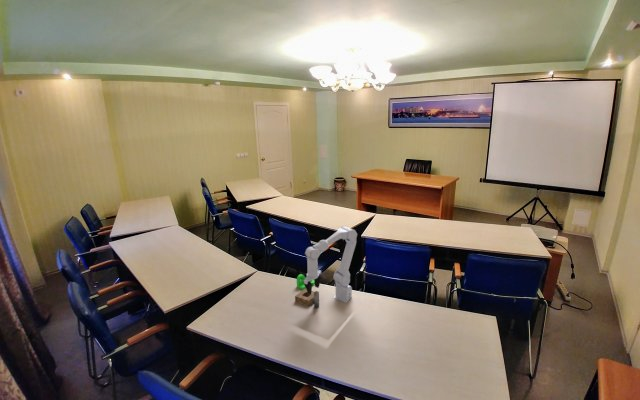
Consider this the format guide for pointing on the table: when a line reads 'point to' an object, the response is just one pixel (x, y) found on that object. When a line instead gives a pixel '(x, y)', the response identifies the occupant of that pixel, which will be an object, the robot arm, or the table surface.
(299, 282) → the mechanical part
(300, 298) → the square wooden ring
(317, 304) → the metal peg
